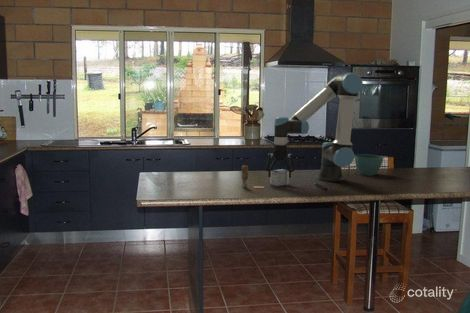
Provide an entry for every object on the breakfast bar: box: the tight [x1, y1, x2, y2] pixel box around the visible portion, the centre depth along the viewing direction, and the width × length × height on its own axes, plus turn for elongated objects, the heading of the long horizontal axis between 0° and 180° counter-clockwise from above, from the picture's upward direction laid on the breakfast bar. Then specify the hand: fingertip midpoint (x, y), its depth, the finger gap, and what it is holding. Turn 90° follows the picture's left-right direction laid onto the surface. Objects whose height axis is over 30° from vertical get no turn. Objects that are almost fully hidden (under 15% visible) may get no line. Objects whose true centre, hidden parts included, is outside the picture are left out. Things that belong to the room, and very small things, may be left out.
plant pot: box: [354, 153, 384, 177], centre depth 331 cm, size 18×18×12 cm
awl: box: [241, 165, 249, 189], centre depth 281 cm, size 3×3×12 cm
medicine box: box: [271, 168, 288, 187], centre depth 291 cm, size 8×4×9 cm, turn 131°
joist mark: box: [253, 185, 266, 189], centre depth 282 cm, size 6×4×1 cm, turn 89°
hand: (279, 183), depth 291 cm, fingers open, 9 cm apart
